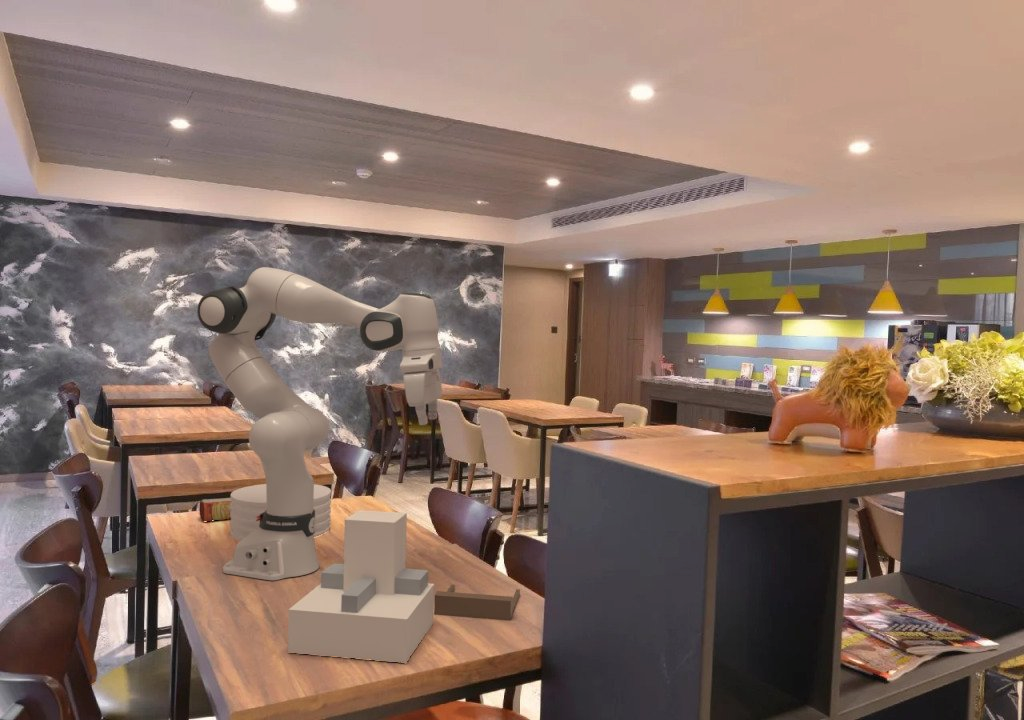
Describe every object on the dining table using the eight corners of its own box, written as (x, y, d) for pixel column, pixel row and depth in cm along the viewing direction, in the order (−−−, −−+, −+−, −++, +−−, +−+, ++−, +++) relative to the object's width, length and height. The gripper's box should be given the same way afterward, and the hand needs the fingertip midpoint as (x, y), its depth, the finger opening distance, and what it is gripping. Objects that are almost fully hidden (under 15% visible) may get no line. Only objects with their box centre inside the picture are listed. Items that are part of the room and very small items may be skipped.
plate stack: (326, 516, 232) (327, 481, 232) (334, 540, 206) (335, 500, 206) (232, 521, 223) (232, 484, 223) (227, 547, 197) (228, 504, 197)
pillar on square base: (287, 653, 132) (289, 532, 131) (329, 614, 151) (331, 508, 150) (406, 664, 129) (408, 540, 128) (433, 623, 147) (435, 514, 147)
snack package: (268, 512, 237) (269, 491, 237) (274, 516, 231) (274, 495, 231) (198, 519, 225) (198, 497, 225) (202, 524, 219) (203, 502, 219)
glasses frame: (434, 614, 152) (434, 595, 152) (450, 589, 167) (451, 572, 167) (510, 620, 150) (510, 601, 150) (520, 594, 165) (520, 577, 165)
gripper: (420, 361, 179) (425, 417, 180) (397, 365, 159) (403, 429, 159) (445, 359, 179) (450, 415, 179) (425, 363, 158) (431, 426, 159)
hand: (428, 421), depth 169 cm, fingers open, 8 cm apart
